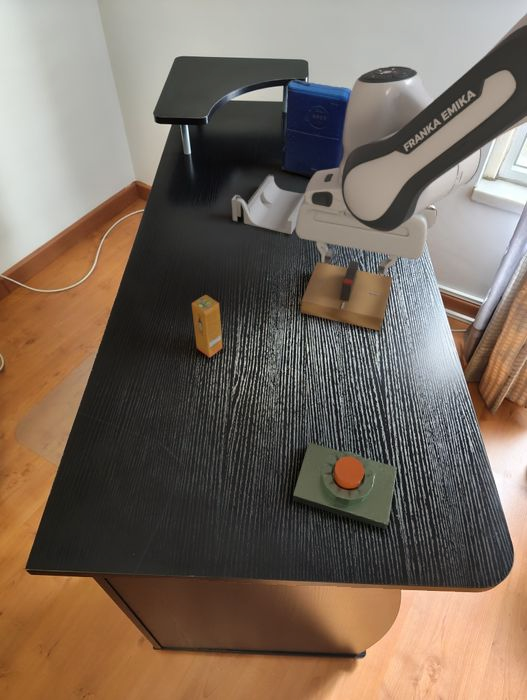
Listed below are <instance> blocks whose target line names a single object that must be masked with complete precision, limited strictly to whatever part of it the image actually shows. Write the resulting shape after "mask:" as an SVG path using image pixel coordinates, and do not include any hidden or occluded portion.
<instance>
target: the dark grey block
mask: <svg viewBox="0 0 527 700" xmlns="http://www.w3.org/2000/svg"><path fill="white" fill-rule="evenodd" d="M359 265H360V262H359V261H355V260H350V261H349V263H348V266H347V268H348V269H347V272H346V275H345V278H344V281H343V284H342V289H341V295H340V299H341V300H346V301H349V299H350V296H351V293H352V290H353V287H354V284H355V280H356V277H357V272H358V270H359Z"/></svg>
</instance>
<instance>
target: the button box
mask: <svg viewBox="0 0 527 700" xmlns="http://www.w3.org/2000/svg"><path fill="white" fill-rule="evenodd" d="M343 457H353V458H355V459H357V460H358V461H360V463H361V464H362V465H363V468H364V475H363V478H362V481H361V483H360V485H359V486H358V487H356V488H354V489H345V488H342V487H340V486H339V485H338V484H337V483H336V481H335V479H334V475H333V474H334V469H335V465H336V463H337V461H338V460H339V459H341V458H343ZM397 469H398V466H394V465H391V464H387V463H384V462H380V461H376V460H373V459H370V458H366V457H363V456H362V455H361V454H358V453H354V452H351V451H348V450H343V451H341V450H338V449H334V448H331V447H327V446H325V445H324V446H323V445H321V444H320V445H319V444H316V443H313V442H308V443H307V447H306V450H305V454H304V457H303V460H302V463H301V468H300V469H299V470H300V471H299V474H298V478H297V481H296V484H295V487H294V491H293V494H292V501H293V502H296V503H299V504H301V505H302V504H303V505H304V506H309V507H312V508H315V509H318V510H321V511H325V512H327V513H331V514H334V515H338V516H341V517H344V518H346V519H350V520H354V521H356V522H359V523H362V524H363V523H364V524H367V525H370V526H373V527H376V528H379V529H382V530H386V529H387V527H388V525H389V520H390V515H391V509H392V502H393V495H394V490H395V482H396V477H397Z"/></svg>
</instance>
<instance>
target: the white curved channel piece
mask: <svg viewBox="0 0 527 700" xmlns="http://www.w3.org/2000/svg"><path fill="white" fill-rule="evenodd" d="M304 198H305V192H303V193H299V192H296V191H295V192H294V191H289V190H285V189H282V188H280V187H279V186H278V185H277V184H276V182H275V176H274V175H267V176H266V177H265V180H263V181H262V184H260V185H259V188H258V189H256V191H255V192H254V193H253V194H252V196H251V199H250V200H248V202H246V201H245V200H244V199H243V198H242V197H241V195H238V194H235V195H234V196H233V197H232V198H231V211H232V221H234V222H238V217H239V218H241V216H242V214H241V213H242V212H241V207H242V210H243V224H246V225H249V226H252V227H253V226H254V227H259V228H263V229H267V230H271V231H275V232H279V233H284V234H287V235H292V234H293V232H294V231H295V229H296V221H297V216H298V212H299V209H300V207H301V204H302V202H303V200H304Z"/></svg>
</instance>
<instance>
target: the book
mask: <svg viewBox="0 0 527 700" xmlns="http://www.w3.org/2000/svg"><path fill="white" fill-rule="evenodd" d="M351 91H352V88H348V87H344V86H333V85H328V84H321V83H314V82H309V81H306V80H305V81H304V80H299V79H293V80H290V81H289V82H288V83H287V85H286V92H287V93H286V94H287V95H286V115H285V118H286V119H285V134H284V135H285V136H284V137H285V144H284V146H283V149H282V154H281V170H283V171H285V172H288V173H293V174H297V175H300V176H304V177H307V178H308V177H309V178H312V177H313V175H314V174H315V173H316V172H317V171H321V170H328V169H334V168H339V166H340V163H341V161H342V159H343V155H344V148H343V141H342V140H343V130H344V123H345V116H346V111H347V105H348V101H349V97H350V94H351Z"/></svg>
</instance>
